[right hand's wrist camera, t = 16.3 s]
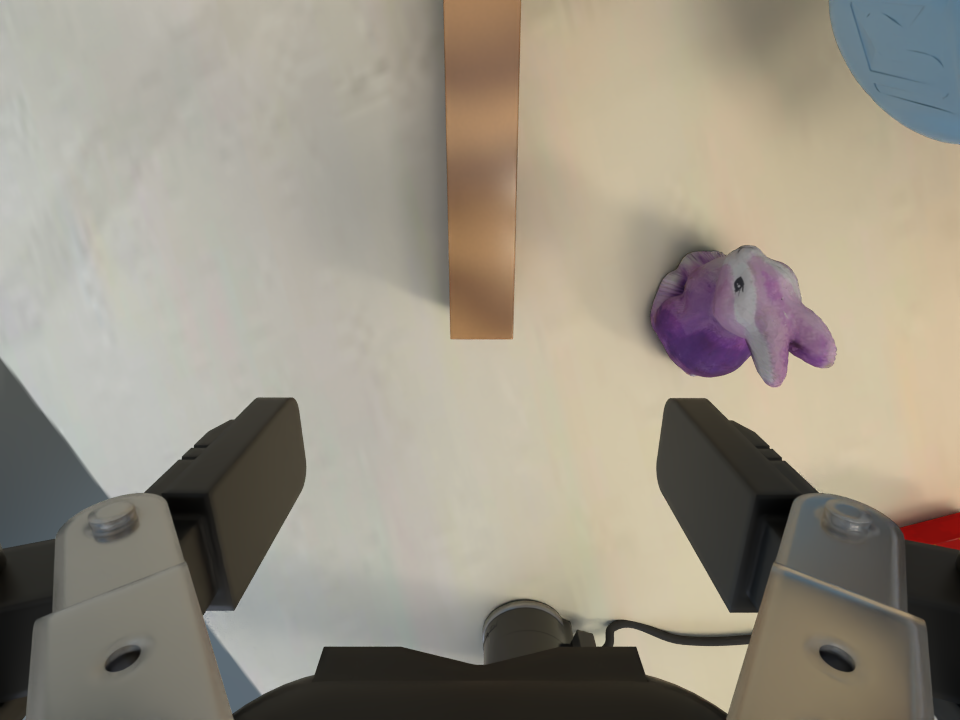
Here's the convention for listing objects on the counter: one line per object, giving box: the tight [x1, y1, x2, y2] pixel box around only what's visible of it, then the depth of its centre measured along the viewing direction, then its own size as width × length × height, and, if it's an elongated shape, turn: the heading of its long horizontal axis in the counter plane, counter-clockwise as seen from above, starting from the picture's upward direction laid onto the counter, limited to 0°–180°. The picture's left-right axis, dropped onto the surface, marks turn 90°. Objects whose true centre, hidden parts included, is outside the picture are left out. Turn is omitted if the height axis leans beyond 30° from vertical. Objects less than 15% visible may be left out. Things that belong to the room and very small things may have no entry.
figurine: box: [650, 245, 837, 387], centre depth 37 cm, size 9×10×15 cm
